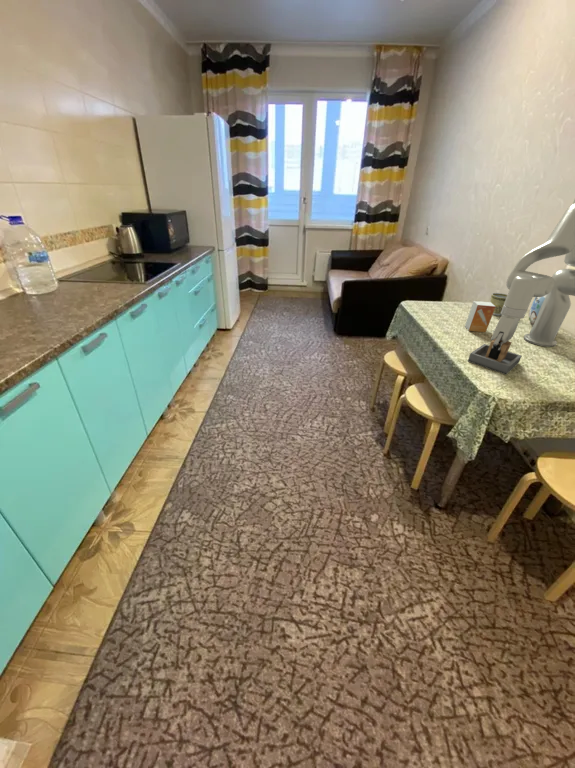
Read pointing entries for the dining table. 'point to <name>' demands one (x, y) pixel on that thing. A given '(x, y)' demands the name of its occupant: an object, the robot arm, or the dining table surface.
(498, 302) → the ceramic cup
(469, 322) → the small box
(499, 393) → the dining table surface
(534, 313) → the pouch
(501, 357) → the wooden block
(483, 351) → the tray
